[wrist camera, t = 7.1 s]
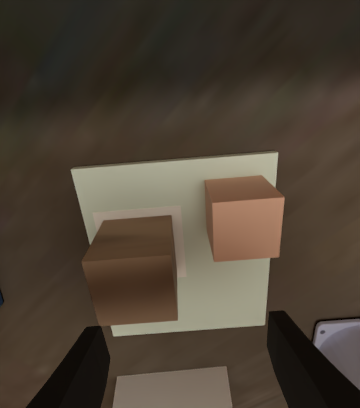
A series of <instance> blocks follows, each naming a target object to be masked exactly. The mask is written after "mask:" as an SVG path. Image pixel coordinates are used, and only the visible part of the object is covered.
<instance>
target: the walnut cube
mask: <svg viewBox="0 0 360 408" xmlns="http://www.w3.org/2000/svg"><path fill="white" fill-rule="evenodd" d="M81 263H82V266H83V270H84V273H85V277H86V280H87V284H88V288H89V291H90V295H91V298H92V302H93V305H94V309H95V312H96V316H97V319H98V323H99V326H112V325H126V324H139V323H153V322H166V321H178V297H177V265H176V255H175V245H174V236H173V226H172V216H171V215H165V216H152V217H140V218H127V219H114V220H103V222H102V224H101V226H100V228H99V230H98V232H97V233H96V235H95V237H94V239H93V241H92V243H91V245H90V246H89V248H88V250H87V252H86V254H85V256H84V258H83V260H82V261H81Z"/></svg>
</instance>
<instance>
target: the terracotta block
mask: <svg viewBox="0 0 360 408" xmlns="http://www.w3.org/2000/svg"><path fill="white" fill-rule="evenodd" d="M284 198H285V197H284V196H283V195H282V194H281V193H280V192H279V191H278V190H277V189H276V188H275V187H274V186H273V185H272V184H270V183H269V182H268V181H267V180H266V179H265V178H264V177H263V176H262V175H259V176H247V177H234V178H222V179H210V180H205V204H206V229H207V234H208V238H209V243H210V247H211V251H212V256H213V260H214V262H223V261H236V260H249V259H262V258H275V257H279V251H280V241H281V230H282V219H283V209H284Z"/></svg>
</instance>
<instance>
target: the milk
mask: <svg viewBox="0 0 360 408" xmlns="http://www.w3.org/2000/svg"><path fill="white" fill-rule="evenodd" d="M112 408H232V401H231V394H230V387H229V381H228V374H227V367H226V366H222V367H212V368H201V369H191V370H180V371H170V372H159V373H149V374H138V375H128V376H117V381H116V388H115V394H114V401H113V407H112Z"/></svg>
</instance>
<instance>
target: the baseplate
mask: <svg viewBox="0 0 360 408" xmlns="http://www.w3.org/2000/svg"><path fill="white" fill-rule="evenodd" d="M277 161H278V152H276V151H265V152H253V153H241V154H229V155H216V156H204V157H192V158H179V159H167V160H155V161H143V162H130V163H118V164H106V165H94V166H81V167H73V168H72V169H71V173H72V177H73V181H74V184H75V188H76V192H77V196H78V200H79V204H80V208H81V212H82V216H83V219H84V223H85V227H86V231H87V235H88V239H89V243H90V245H91V243H92V241H93V239H94V237H95V235H96V233H97V232H98V230H99V228H100V226H101V224H102V222H103V220H114V219H127V218H140V217H152V216H165V215H171V216H172V226H173V236H174V245H175V255H176V265H177V297H178V321H166V322H153V323H139V324H126V325H112V326H111V329H112V333H113V336H126V335H139V334H152V333H166V332H179V331H193V330H206V329H220V328H233V327H247V326H260V325H265V317H266V304H267V291H268V278H269V265H270V258H262V259H249V260H236V261H223V262H214V260H213V256H212V251H211V247H210V243H209V238H208V234H207V229H206V204H205V180H210V179H222V178H234V177H247V176H259V175H262V176H263V177H264V178H265V179H266V180H267V181H268V182H269V183H270V184H272V185H273V186H274V187H276V174H277Z"/></svg>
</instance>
